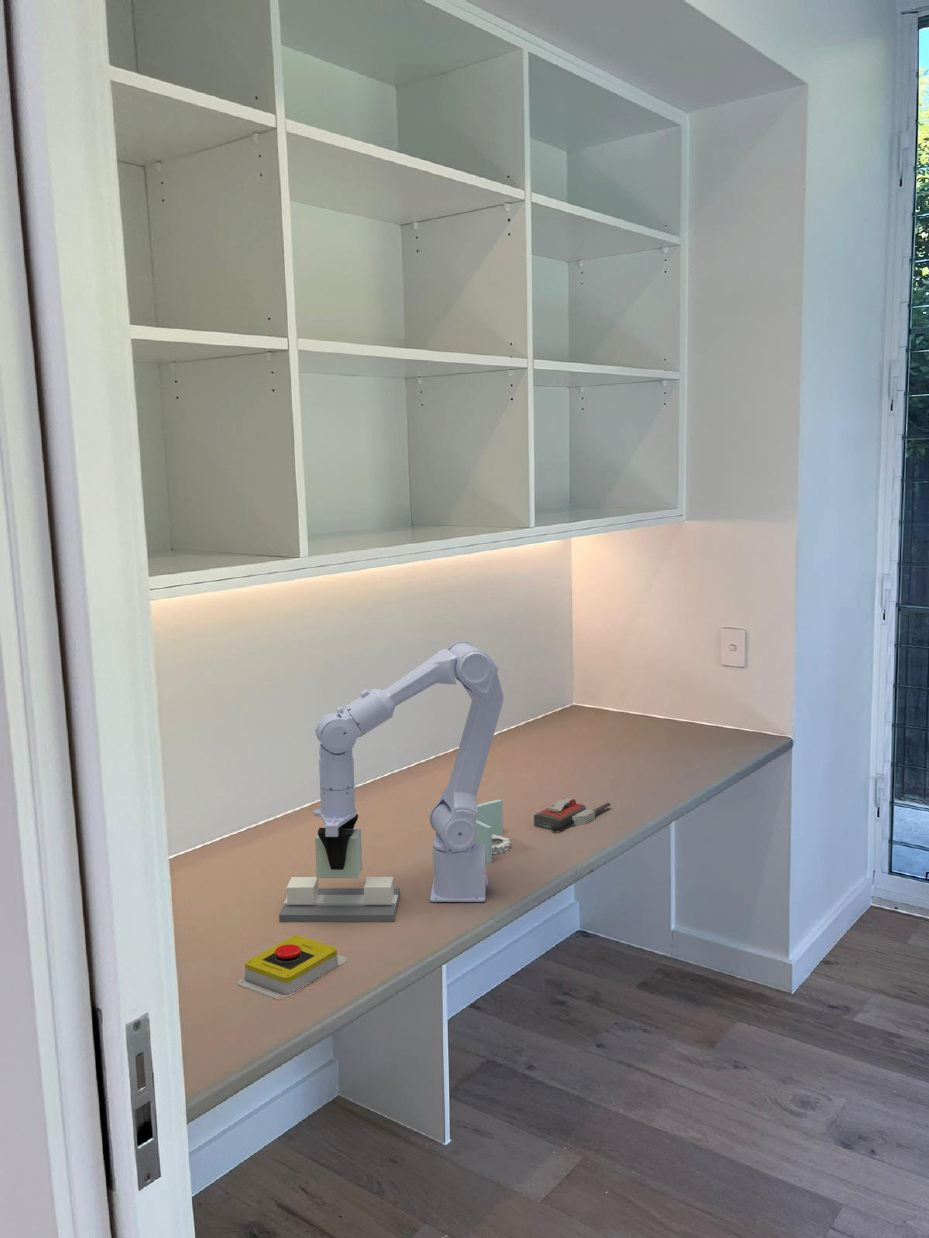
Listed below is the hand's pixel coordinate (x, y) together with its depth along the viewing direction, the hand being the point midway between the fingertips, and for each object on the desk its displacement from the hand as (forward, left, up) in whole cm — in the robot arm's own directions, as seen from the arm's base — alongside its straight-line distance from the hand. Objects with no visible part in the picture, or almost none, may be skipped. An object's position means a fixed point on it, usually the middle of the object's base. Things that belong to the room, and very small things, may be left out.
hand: (339, 863), depth 179 cm
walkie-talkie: (-42, -45, -9) cm, 63 cm away
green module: (0, 0, -2) cm, 2 cm away
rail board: (0, 0, -8) cm, 8 cm away
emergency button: (+4, +23, -9) cm, 24 cm away
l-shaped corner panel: (-26, -29, -9) cm, 40 cm away
